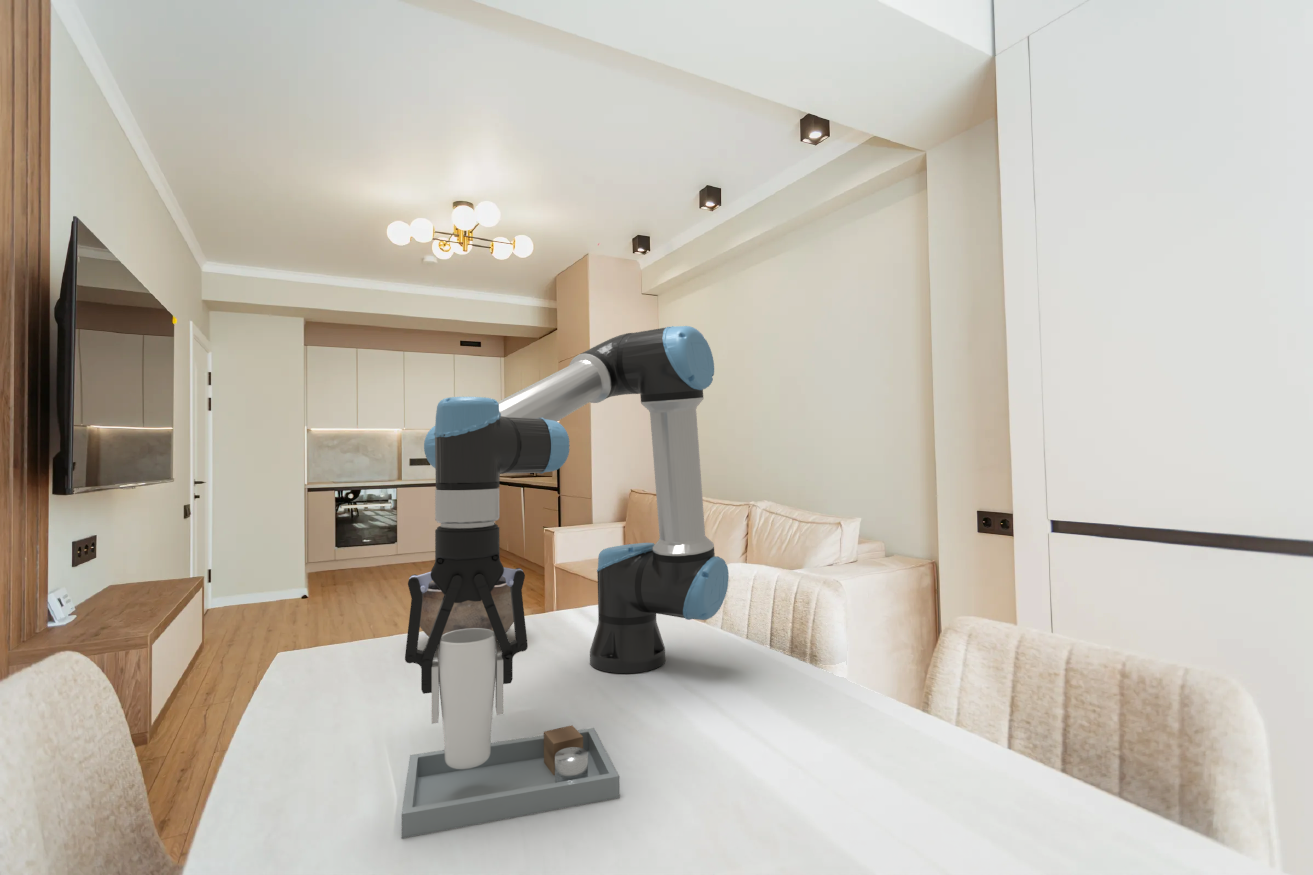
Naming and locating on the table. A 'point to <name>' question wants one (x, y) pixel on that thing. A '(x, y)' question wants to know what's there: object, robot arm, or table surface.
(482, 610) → the ceramic bowl
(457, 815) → the collection tray
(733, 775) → the table surface
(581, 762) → the metal cylinder
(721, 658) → the table surface
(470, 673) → the drinking glass
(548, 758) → the walnut cube
